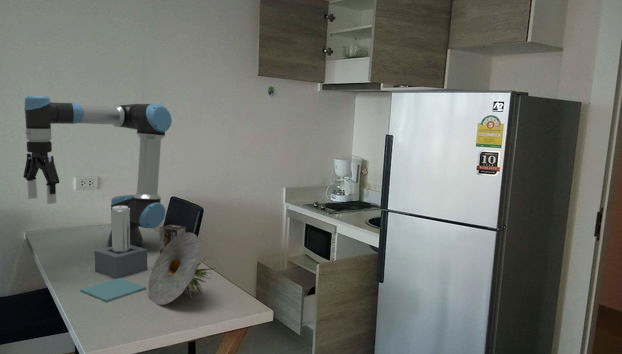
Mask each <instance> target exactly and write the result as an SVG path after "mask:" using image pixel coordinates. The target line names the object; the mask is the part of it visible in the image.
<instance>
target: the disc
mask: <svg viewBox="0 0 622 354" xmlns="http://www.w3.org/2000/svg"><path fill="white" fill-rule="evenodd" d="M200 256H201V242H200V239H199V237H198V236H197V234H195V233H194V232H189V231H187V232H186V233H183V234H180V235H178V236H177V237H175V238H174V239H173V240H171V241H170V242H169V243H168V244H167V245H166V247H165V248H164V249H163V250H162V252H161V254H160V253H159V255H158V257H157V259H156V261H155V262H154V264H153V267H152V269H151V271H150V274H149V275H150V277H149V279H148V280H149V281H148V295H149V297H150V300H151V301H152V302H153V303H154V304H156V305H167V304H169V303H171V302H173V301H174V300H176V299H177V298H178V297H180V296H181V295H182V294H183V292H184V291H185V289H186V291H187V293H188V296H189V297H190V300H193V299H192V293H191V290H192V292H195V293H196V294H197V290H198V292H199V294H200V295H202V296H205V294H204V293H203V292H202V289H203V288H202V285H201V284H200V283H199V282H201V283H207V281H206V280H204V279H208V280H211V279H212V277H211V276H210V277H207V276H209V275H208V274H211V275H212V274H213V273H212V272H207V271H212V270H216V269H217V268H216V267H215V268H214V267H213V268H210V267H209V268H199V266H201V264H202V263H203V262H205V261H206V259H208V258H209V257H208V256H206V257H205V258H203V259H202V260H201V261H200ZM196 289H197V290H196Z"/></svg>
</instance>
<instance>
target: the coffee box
mask: <svg viewBox="0 0 622 354" xmlns="http://www.w3.org/2000/svg"><path fill="white" fill-rule="evenodd" d="M186 232H188V227H187V226H182V225H175V224H167V225H164V226H161V227H159V255H160V254H161V252H162V250H163V249H164V248H165V247H166V245H167V244H168V243H169V242H170V241H171V240H173V239H174V238H175V237H177V236H178V235H180V234H183V233H186Z"/></svg>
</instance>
